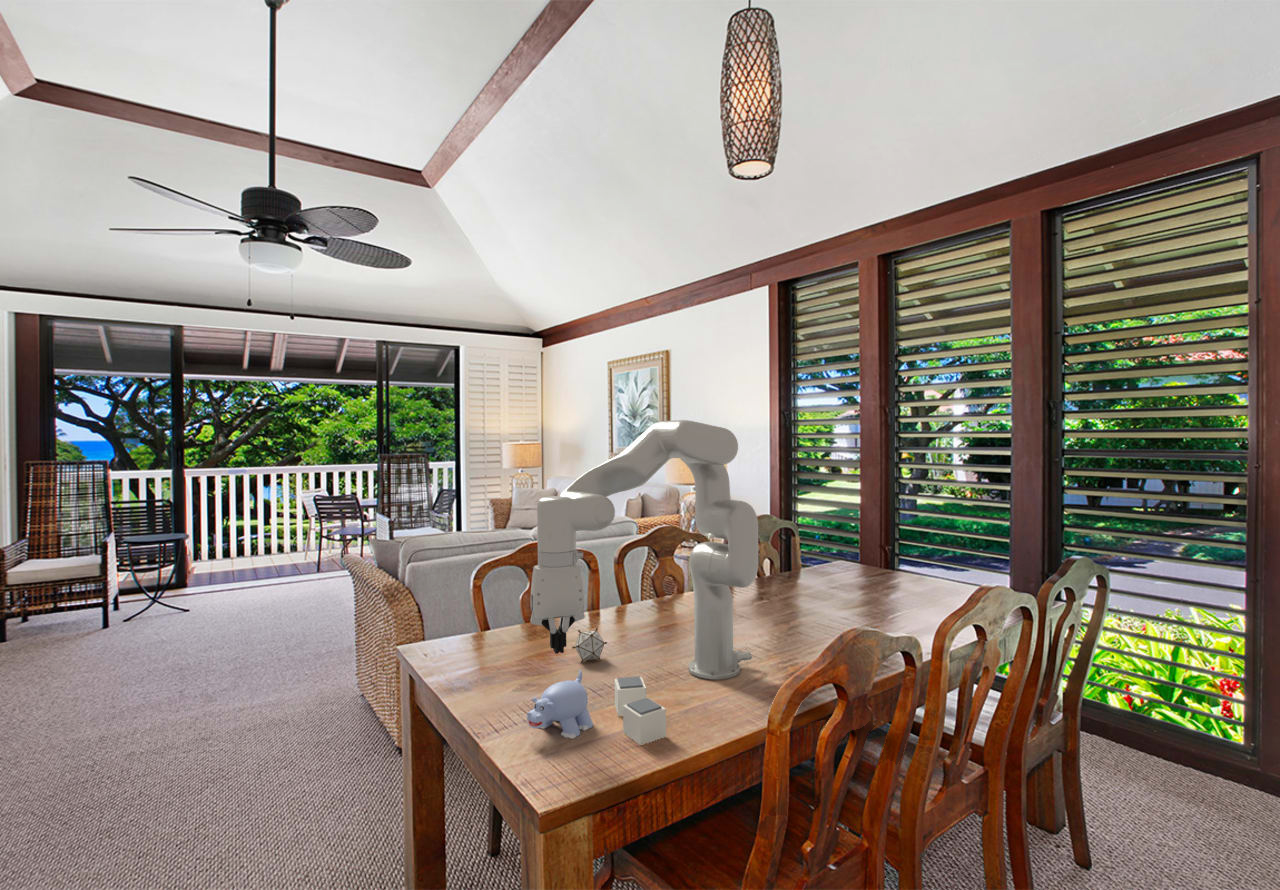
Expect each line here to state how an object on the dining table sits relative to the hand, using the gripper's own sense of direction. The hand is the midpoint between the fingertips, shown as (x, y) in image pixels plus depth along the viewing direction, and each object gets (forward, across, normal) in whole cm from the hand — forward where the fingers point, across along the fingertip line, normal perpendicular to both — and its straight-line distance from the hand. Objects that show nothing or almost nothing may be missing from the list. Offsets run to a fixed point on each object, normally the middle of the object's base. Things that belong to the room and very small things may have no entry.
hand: (558, 650), depth 123 cm
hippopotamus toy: (+16, 0, -1) cm, 16 cm away
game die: (+16, -15, -35) cm, 41 cm away
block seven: (+16, -15, +8) cm, 23 cm away
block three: (+16, -16, -4) cm, 23 cm away
